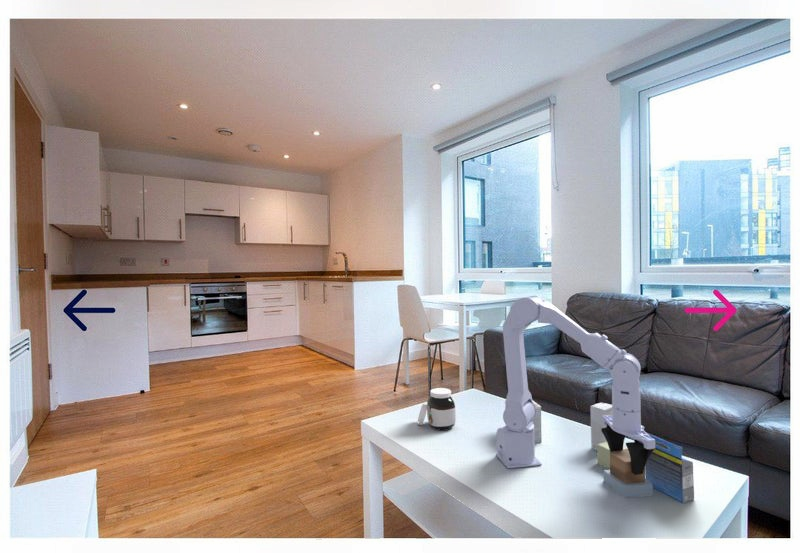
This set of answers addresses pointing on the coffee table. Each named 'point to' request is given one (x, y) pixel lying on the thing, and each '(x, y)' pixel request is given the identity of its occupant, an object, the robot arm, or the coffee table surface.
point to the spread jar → (439, 409)
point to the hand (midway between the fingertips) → (627, 466)
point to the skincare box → (598, 423)
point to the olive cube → (605, 454)
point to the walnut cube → (624, 467)
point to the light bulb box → (537, 424)
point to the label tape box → (670, 471)
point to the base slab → (628, 486)
